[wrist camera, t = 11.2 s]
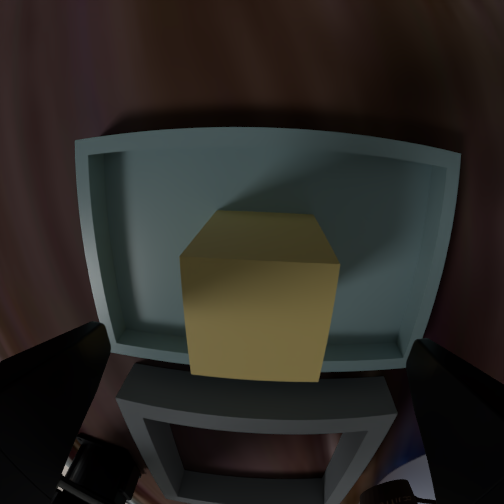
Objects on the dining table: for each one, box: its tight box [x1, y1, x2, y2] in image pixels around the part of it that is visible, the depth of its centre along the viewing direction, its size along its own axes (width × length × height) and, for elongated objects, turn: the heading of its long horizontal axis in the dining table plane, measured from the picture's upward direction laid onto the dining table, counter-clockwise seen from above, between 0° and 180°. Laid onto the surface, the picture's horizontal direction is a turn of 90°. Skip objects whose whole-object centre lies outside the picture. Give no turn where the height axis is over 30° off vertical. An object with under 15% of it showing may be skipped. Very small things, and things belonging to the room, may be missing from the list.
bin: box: [116, 363, 398, 504], centre depth 19 cm, size 17×17×4 cm
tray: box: [75, 127, 461, 372], centre depth 14 cm, size 18×12×2 cm, turn 89°
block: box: [179, 210, 340, 382], centre depth 12 cm, size 4×4×6 cm
